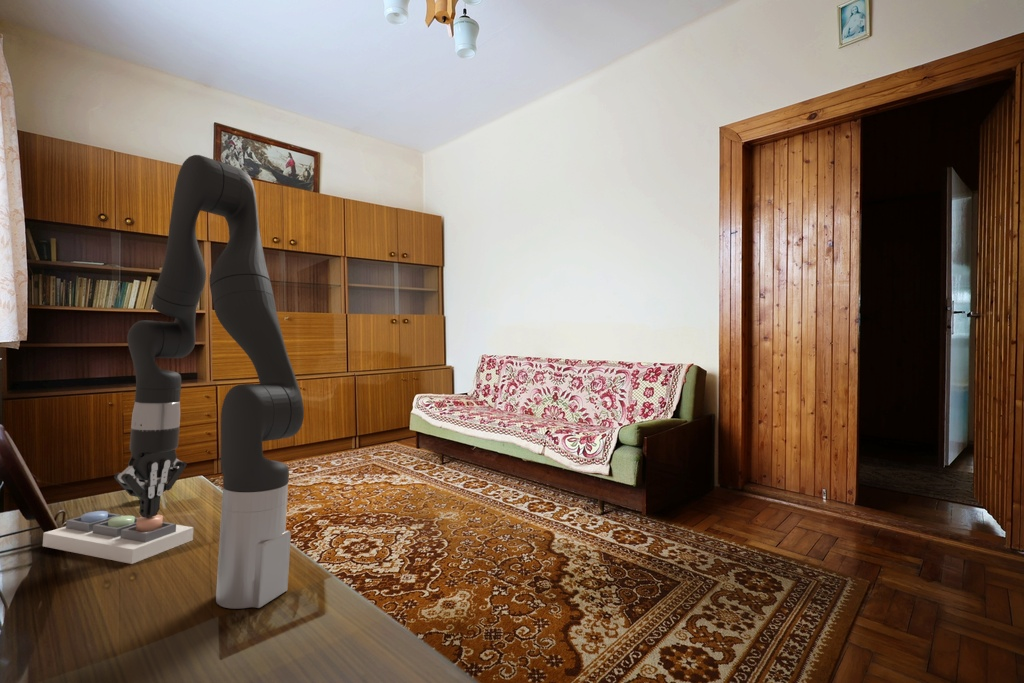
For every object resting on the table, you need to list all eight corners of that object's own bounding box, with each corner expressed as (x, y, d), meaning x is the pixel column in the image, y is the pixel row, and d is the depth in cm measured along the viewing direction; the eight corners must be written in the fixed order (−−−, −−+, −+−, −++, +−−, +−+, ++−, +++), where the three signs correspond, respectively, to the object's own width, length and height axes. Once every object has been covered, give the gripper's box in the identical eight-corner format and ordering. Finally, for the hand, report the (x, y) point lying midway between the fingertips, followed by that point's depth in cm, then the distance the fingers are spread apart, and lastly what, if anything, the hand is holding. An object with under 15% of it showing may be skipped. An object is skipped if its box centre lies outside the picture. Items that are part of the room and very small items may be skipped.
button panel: (192, 540, 97) (194, 519, 97) (131, 563, 85) (133, 540, 86) (110, 525, 103) (111, 506, 103) (42, 546, 91) (44, 524, 91)
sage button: (139, 527, 96) (139, 516, 96) (118, 534, 92) (118, 523, 92) (123, 524, 97) (124, 514, 97) (102, 531, 93) (102, 520, 93)
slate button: (112, 522, 97) (113, 512, 97) (90, 528, 94) (91, 518, 94) (97, 519, 98) (98, 509, 98) (75, 526, 95) (76, 515, 95)
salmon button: (167, 526, 94) (168, 516, 94) (146, 533, 90) (147, 522, 90) (151, 523, 95) (152, 513, 95) (130, 530, 91) (131, 519, 91)
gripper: (136, 431, 86) (128, 530, 85) (201, 422, 98) (195, 508, 98) (104, 428, 88) (97, 524, 87) (172, 419, 100) (166, 504, 100)
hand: (149, 516), depth 93 cm, fingers closed
